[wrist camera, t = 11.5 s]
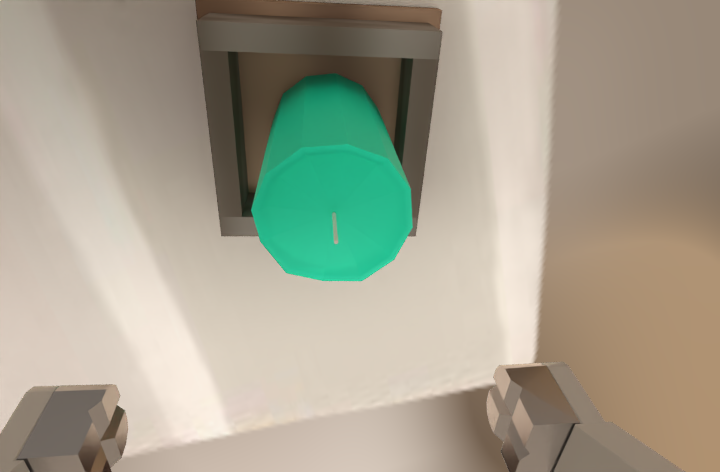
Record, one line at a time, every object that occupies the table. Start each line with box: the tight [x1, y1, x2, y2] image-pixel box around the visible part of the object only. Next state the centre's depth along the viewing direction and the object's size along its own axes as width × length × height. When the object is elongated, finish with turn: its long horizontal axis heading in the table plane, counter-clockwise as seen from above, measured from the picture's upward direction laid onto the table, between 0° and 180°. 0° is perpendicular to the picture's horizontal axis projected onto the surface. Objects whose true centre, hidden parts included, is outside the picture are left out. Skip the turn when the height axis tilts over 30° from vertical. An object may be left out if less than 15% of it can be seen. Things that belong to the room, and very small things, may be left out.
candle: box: [251, 73, 413, 281], centre depth 21 cm, size 6×6×12 cm
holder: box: [195, 0, 442, 236], centre depth 25 cm, size 12×12×4 cm
